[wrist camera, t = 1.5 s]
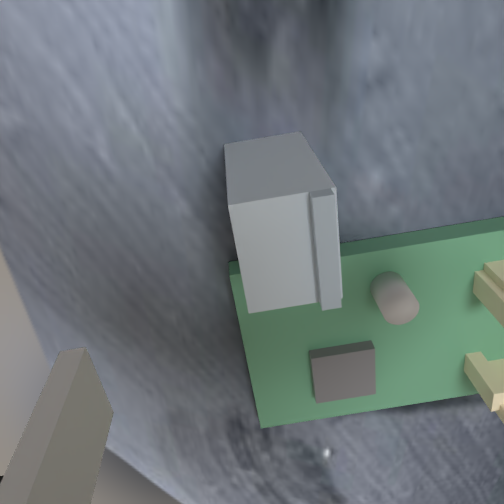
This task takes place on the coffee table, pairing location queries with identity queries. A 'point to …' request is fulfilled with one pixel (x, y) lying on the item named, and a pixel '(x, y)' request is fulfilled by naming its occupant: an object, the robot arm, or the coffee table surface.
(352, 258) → the board
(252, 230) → the plug
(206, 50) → the coffee table surface
